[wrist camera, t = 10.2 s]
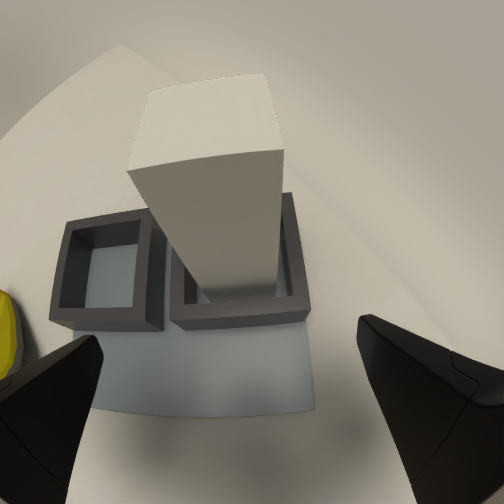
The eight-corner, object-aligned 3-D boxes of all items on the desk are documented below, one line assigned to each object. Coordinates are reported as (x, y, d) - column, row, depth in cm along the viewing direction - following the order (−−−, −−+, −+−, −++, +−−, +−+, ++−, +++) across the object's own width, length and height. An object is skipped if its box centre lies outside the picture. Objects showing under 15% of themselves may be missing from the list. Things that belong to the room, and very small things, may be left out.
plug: (275, 296, 17) (284, 148, 7) (210, 303, 17) (126, 171, 7) (268, 235, 19) (263, 69, 8) (209, 241, 19) (152, 86, 9)
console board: (312, 407, 15) (325, 415, 12) (80, 404, 15) (45, 402, 12) (289, 223, 21) (292, 189, 17) (91, 244, 21) (66, 219, 17)
